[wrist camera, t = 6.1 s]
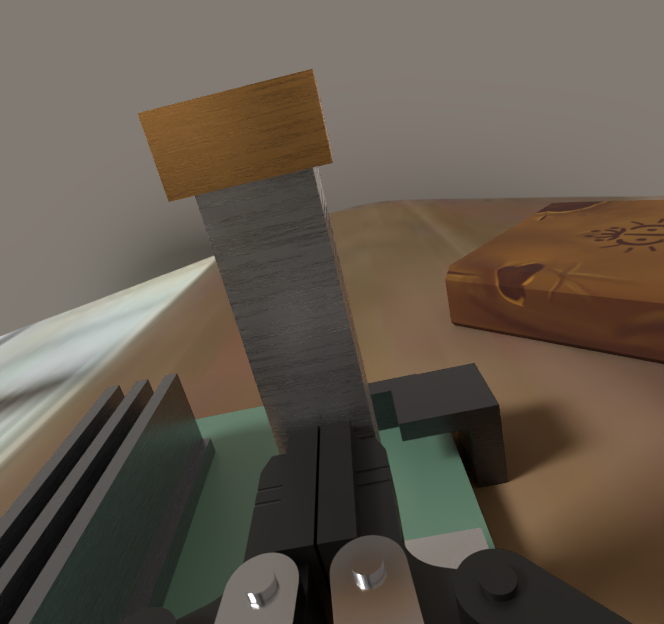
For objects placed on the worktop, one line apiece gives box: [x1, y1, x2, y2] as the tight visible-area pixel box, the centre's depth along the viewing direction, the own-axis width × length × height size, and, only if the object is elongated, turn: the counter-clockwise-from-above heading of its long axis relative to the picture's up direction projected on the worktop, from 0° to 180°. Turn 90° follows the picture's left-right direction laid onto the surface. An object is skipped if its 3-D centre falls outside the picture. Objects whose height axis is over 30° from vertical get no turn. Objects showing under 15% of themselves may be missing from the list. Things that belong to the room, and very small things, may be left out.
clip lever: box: [138, 69, 489, 569], centre depth 13 cm, size 5×6×17 cm
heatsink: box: [0, 363, 508, 624], centre depth 21 cm, size 17×20×7 cm
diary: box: [445, 200, 664, 364], centre depth 36 cm, size 23×19×6 cm
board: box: [163, 406, 495, 620], centre depth 22 cm, size 22×20×2 cm
